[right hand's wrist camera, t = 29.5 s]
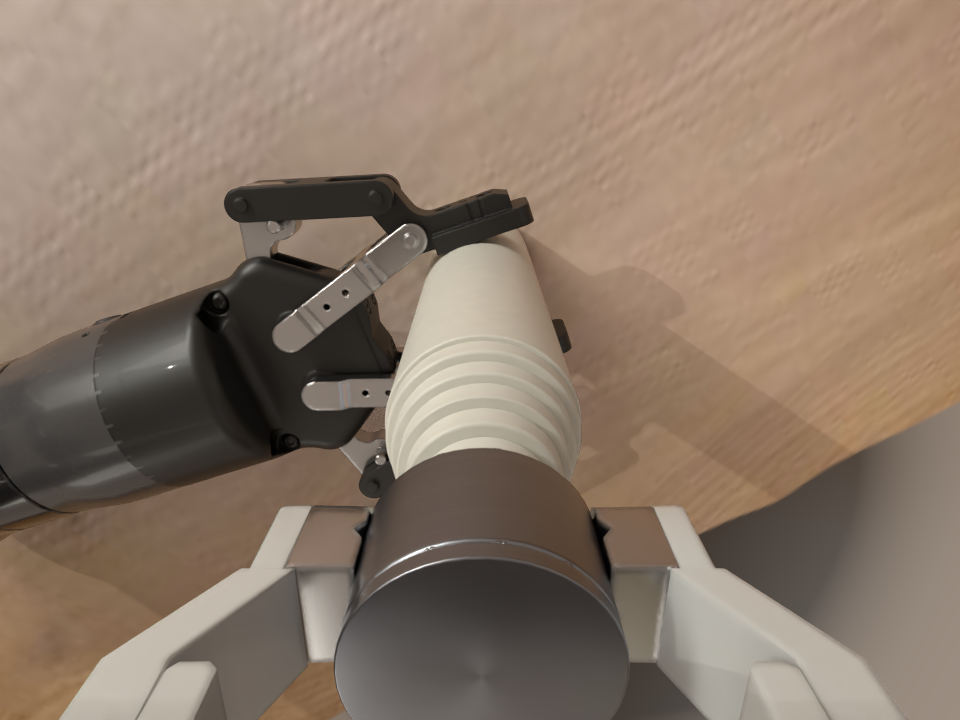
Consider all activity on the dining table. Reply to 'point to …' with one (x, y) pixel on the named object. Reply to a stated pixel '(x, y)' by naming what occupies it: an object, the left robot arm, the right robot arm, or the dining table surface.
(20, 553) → the dining table surface
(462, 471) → the cap
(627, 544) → the right robot arm
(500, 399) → the bottle
